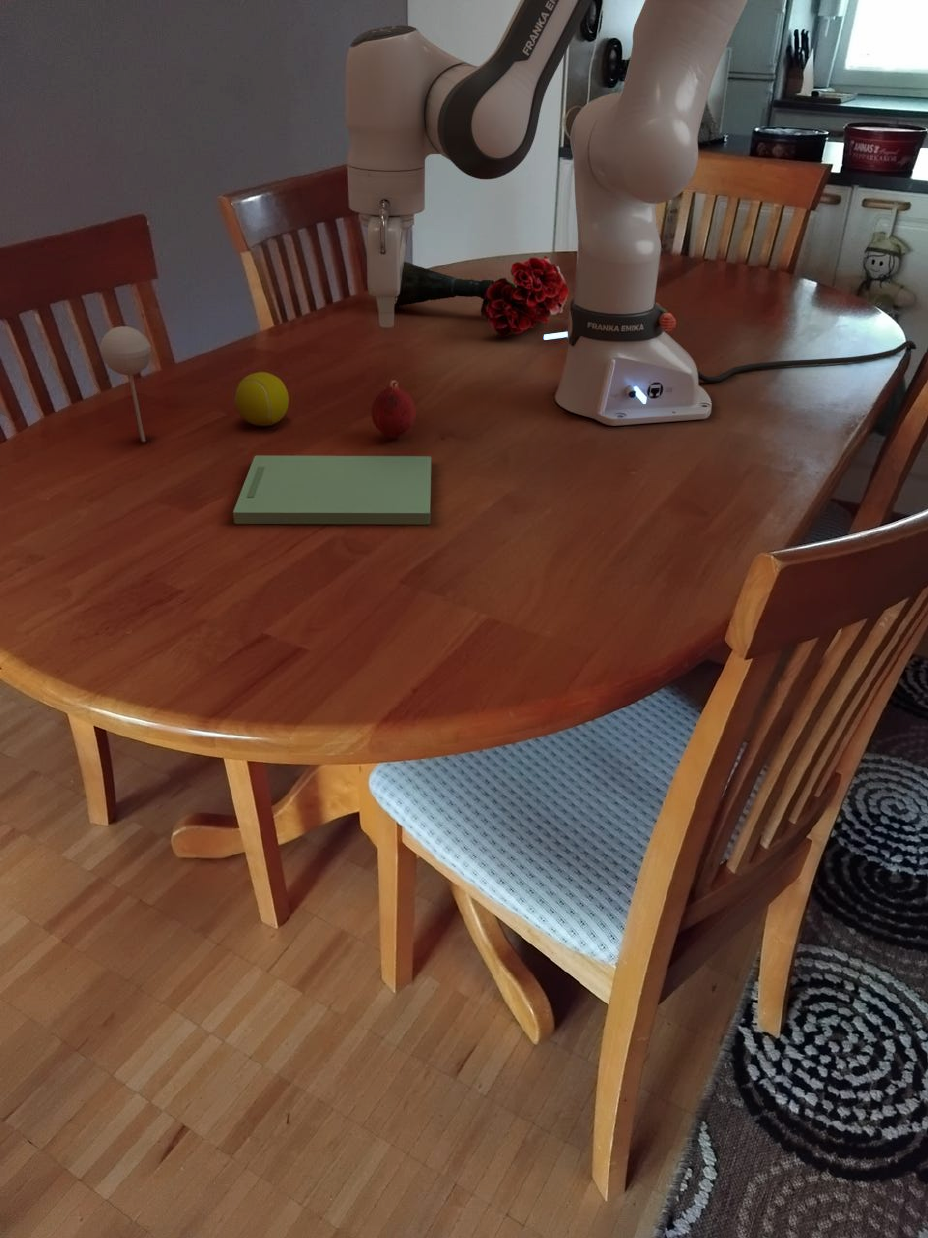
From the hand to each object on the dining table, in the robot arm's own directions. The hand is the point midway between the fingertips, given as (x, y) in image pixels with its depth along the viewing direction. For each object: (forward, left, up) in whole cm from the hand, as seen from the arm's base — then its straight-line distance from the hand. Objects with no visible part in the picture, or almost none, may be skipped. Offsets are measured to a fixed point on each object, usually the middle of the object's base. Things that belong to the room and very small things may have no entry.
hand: (388, 313), depth 116 cm
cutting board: (+6, +16, -17) cm, 24 cm away
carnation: (-11, -51, -17) cm, 55 cm away
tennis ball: (+18, -5, -17) cm, 25 cm away
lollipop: (+33, +1, -17) cm, 37 cm away
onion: (0, 0, -17) cm, 17 cm away
